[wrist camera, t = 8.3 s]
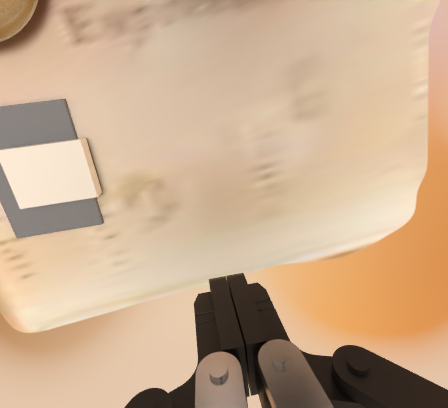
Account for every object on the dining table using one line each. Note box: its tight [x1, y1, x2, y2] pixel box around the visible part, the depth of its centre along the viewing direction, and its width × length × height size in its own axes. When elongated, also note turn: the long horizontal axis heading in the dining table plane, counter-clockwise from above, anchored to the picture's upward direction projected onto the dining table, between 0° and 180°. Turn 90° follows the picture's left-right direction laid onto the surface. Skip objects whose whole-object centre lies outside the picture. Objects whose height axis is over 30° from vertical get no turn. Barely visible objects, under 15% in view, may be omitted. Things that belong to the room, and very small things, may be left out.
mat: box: [0, 99, 104, 238], centre depth 33 cm, size 16×11×1 cm
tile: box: [0, 138, 102, 209], centre depth 32 cm, size 7×2×9 cm
